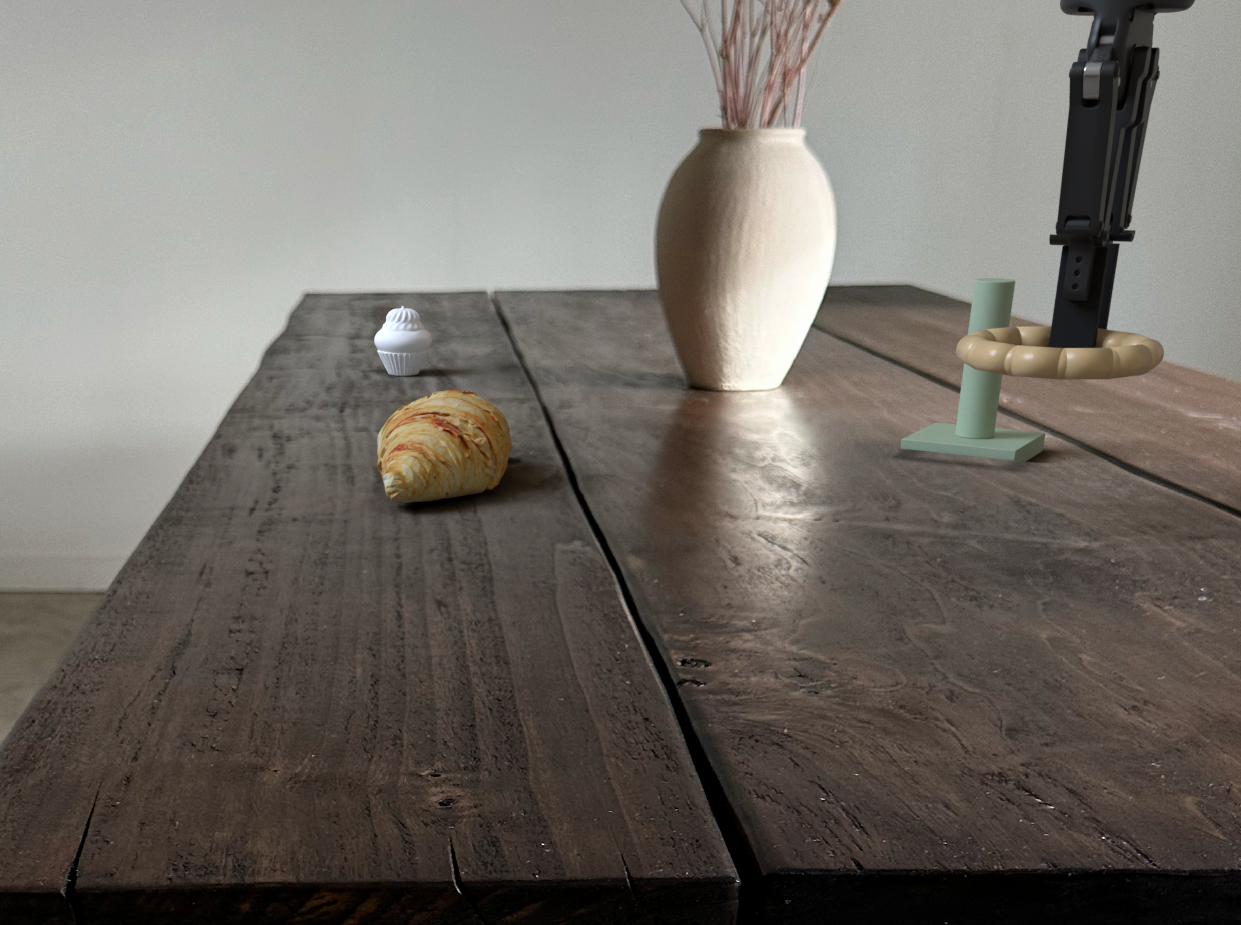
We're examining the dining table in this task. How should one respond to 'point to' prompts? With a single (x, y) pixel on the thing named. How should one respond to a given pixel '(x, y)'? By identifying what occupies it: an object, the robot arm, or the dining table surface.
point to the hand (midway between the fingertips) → (1076, 350)
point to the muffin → (403, 342)
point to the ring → (1058, 354)
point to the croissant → (443, 447)
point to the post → (981, 394)
